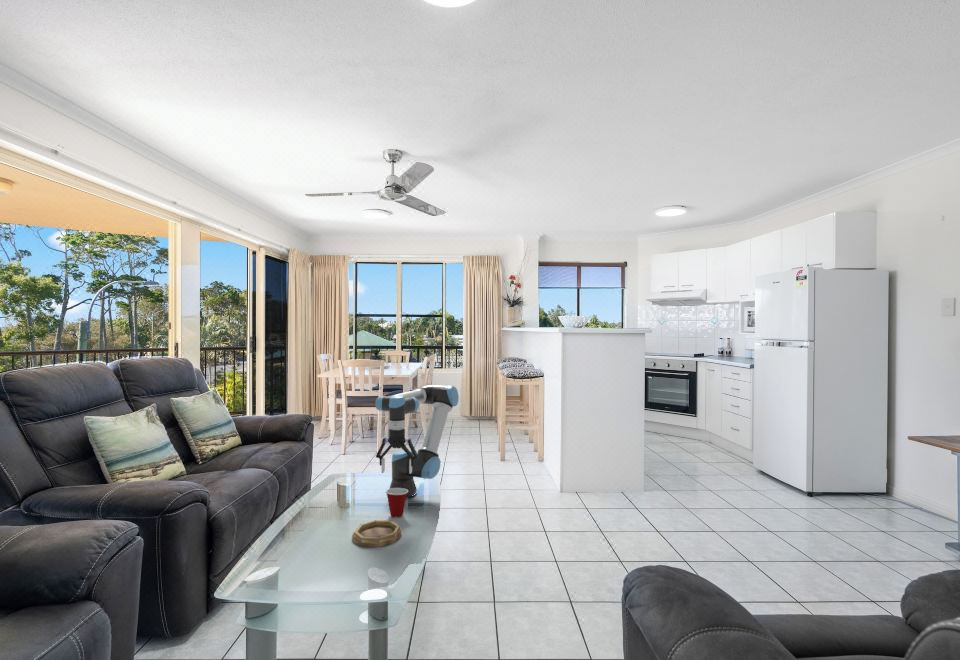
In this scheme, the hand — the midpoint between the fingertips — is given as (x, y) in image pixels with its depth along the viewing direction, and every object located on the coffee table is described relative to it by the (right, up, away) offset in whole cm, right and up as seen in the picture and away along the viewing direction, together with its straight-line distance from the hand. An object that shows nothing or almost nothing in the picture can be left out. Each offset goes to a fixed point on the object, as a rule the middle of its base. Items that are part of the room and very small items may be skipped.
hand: (396, 472), depth 216 cm
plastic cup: (0, -21, 0) cm, 21 cm away
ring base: (-4, -20, -22) cm, 31 cm away
